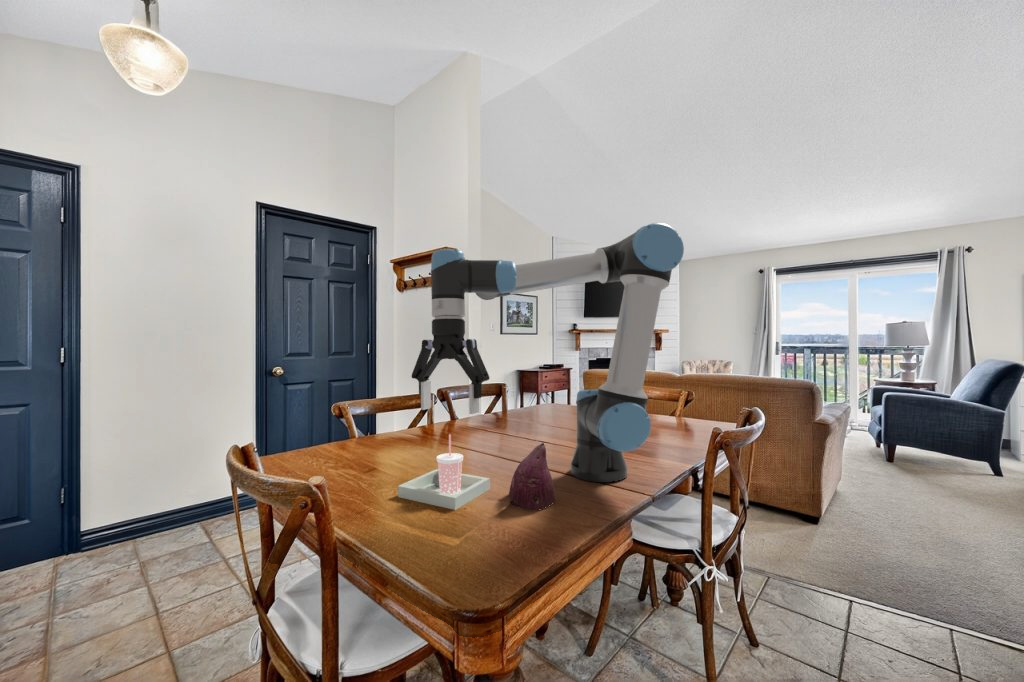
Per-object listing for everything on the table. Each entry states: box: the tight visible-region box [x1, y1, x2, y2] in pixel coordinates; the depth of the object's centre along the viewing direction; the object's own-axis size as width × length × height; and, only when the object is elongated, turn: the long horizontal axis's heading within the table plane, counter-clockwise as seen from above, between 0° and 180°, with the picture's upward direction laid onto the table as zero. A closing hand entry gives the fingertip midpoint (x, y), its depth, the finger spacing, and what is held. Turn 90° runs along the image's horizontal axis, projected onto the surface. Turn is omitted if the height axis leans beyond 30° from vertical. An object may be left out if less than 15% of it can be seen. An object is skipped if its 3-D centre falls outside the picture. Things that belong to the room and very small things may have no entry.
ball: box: [433, 473, 439, 486], centre depth 101 cm, size 3×3×3 cm
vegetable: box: [508, 442, 555, 511], centre depth 94 cm, size 10×10×15 cm
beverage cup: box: [436, 433, 464, 495], centre depth 95 cm, size 6×6×14 cm
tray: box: [397, 468, 491, 511], centre depth 97 cm, size 16×14×4 cm
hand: (449, 411), depth 95 cm, fingers open, 13 cm apart
